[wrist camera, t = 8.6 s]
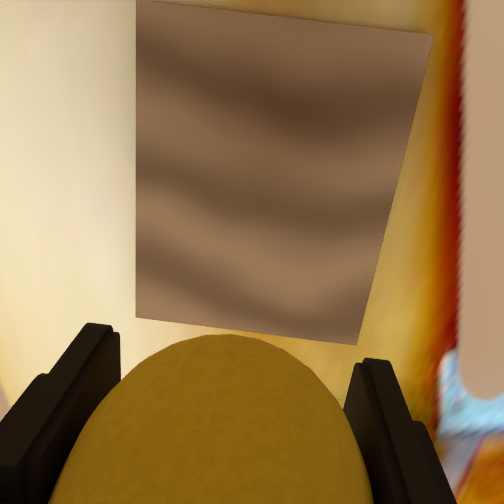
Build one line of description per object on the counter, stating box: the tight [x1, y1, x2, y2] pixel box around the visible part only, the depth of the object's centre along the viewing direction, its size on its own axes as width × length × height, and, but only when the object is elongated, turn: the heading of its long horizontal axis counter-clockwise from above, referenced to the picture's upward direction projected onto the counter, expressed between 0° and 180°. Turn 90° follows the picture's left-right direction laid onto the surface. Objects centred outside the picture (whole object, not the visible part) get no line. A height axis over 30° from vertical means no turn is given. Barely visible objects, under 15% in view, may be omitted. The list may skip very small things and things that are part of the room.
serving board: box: [136, 0, 434, 345], centre depth 27 cm, size 20×16×2 cm
